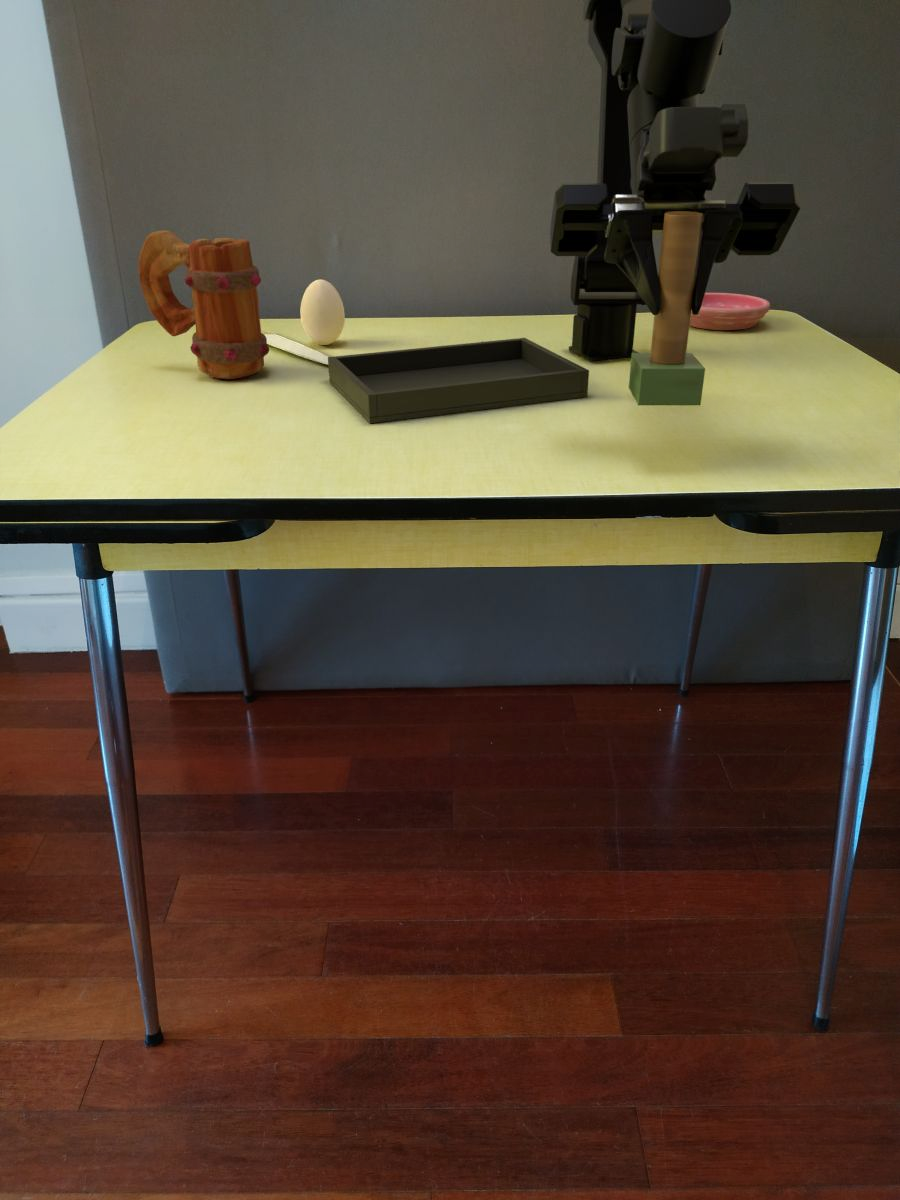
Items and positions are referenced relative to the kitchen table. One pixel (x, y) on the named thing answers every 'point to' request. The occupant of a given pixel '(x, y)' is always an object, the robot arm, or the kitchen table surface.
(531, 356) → the tray
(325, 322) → the egg
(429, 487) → the kitchen table surface
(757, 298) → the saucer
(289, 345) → the knife
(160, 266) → the mug
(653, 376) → the peg on green base
